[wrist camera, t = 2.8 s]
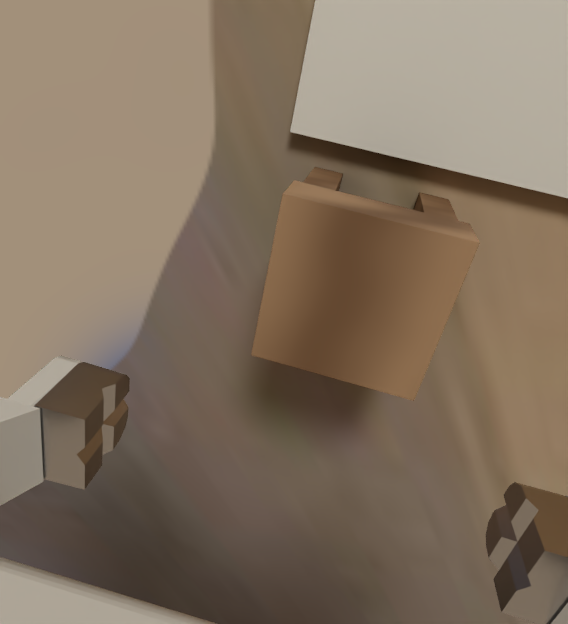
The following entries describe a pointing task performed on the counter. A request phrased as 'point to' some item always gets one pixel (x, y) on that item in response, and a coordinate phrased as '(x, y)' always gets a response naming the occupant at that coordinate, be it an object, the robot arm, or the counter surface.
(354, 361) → the stool
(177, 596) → the counter surface
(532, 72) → the mat
